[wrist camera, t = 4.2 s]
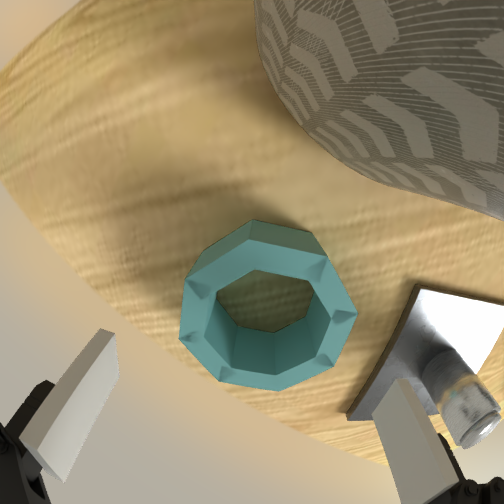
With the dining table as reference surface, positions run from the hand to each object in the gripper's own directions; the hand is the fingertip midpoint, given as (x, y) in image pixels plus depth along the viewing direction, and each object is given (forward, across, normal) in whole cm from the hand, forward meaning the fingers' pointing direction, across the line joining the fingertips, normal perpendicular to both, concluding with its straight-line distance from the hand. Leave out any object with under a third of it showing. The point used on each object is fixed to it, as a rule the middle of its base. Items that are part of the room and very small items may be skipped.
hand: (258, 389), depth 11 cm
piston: (+10, +20, -5) cm, 23 cm away
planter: (+10, +6, +19) cm, 22 cm away
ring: (+10, 0, 0) cm, 10 cm away
